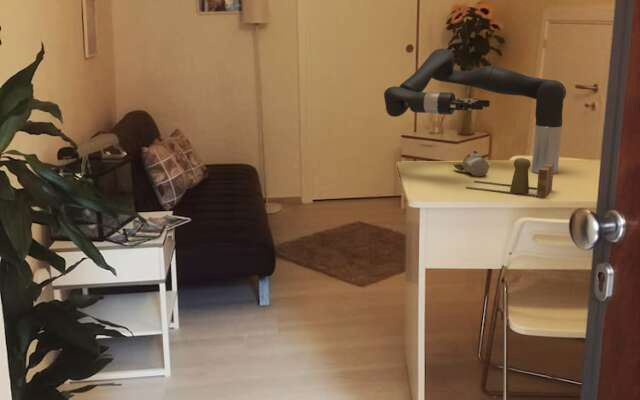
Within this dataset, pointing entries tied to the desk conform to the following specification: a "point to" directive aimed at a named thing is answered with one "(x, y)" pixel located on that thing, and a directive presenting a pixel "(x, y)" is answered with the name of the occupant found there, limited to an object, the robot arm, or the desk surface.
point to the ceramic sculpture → (473, 165)
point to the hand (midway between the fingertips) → (486, 105)
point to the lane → (542, 188)
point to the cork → (520, 176)
